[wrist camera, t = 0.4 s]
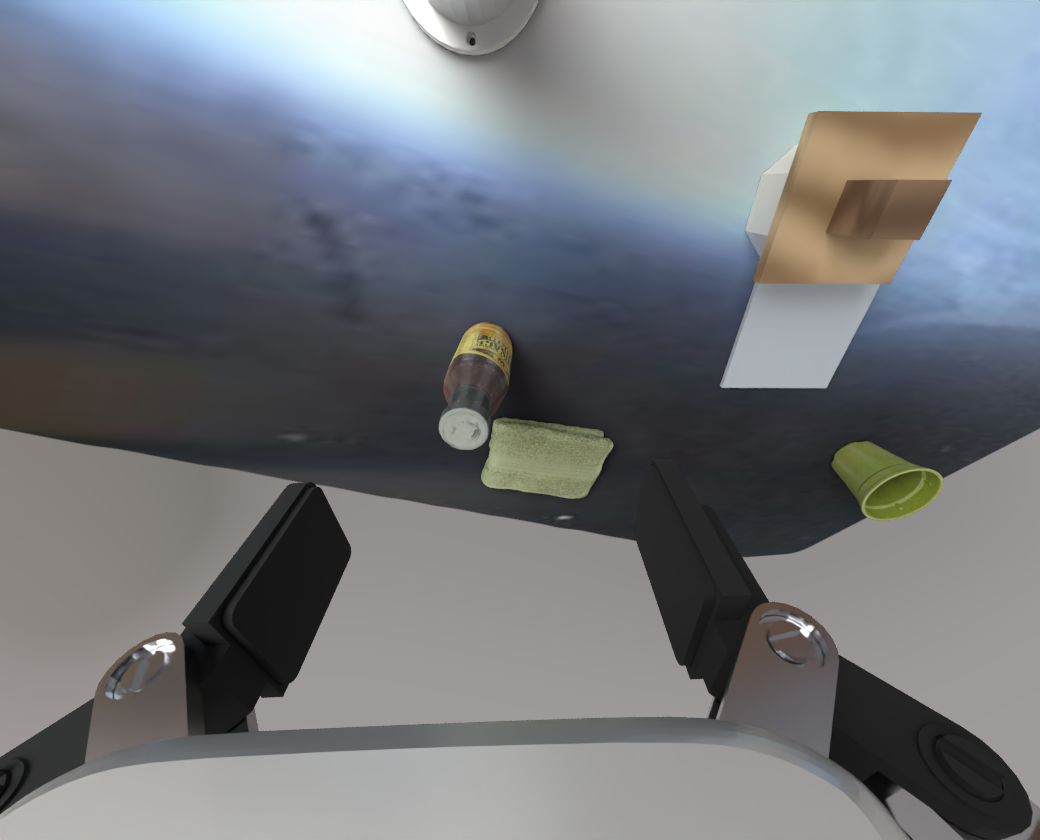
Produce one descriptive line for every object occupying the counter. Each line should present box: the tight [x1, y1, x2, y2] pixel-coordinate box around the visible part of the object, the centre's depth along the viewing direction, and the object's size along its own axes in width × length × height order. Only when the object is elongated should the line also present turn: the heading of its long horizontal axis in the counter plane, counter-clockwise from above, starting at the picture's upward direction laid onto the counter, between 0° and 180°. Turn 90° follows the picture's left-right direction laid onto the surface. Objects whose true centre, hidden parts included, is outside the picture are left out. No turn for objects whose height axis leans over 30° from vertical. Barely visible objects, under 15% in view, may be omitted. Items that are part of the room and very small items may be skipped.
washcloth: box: [481, 418, 613, 499], centre depth 54 cm, size 13×18×3 cm
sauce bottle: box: [439, 322, 512, 450], centre depth 37 cm, size 7×6×20 cm
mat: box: [720, 282, 881, 388], centre depth 45 cm, size 14×14×1 cm
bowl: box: [745, 142, 799, 256], centre depth 35 cm, size 12×12×5 cm
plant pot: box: [831, 441, 943, 521], centre depth 52 cm, size 9×9×9 cm
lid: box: [752, 111, 982, 284], centre depth 31 cm, size 13×13×6 cm
